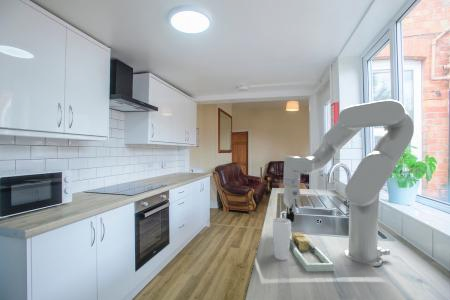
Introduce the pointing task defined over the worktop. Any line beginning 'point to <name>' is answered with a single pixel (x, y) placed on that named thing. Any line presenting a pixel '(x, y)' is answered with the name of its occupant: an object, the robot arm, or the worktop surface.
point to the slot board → (311, 250)
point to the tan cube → (302, 244)
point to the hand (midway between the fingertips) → (289, 221)
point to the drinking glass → (281, 237)
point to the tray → (324, 266)
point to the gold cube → (296, 236)
